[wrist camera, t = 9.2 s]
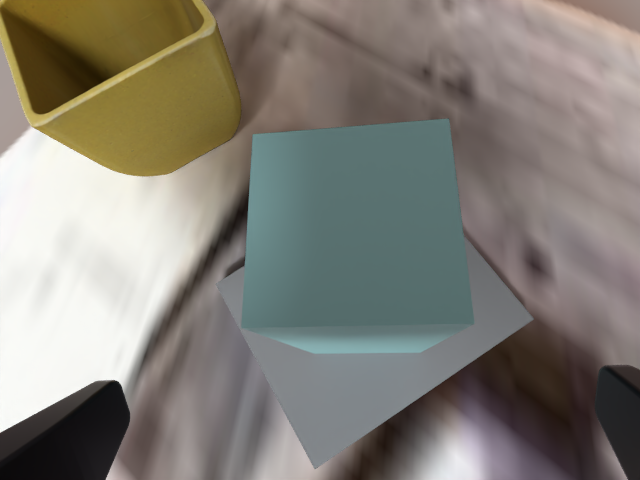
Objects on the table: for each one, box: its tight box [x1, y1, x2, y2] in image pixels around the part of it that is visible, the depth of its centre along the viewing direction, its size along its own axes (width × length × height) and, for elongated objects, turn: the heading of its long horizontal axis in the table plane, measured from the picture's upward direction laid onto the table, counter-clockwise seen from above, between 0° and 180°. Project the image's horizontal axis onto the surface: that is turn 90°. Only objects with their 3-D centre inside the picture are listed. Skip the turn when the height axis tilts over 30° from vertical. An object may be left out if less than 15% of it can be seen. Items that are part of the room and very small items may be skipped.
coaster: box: [216, 236, 534, 469], centre depth 20 cm, size 10×12×1 cm
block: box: [241, 118, 475, 354], centre depth 15 cm, size 5×5×11 cm
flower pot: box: [0, 0, 241, 176], centre depth 22 cm, size 9×9×9 cm
